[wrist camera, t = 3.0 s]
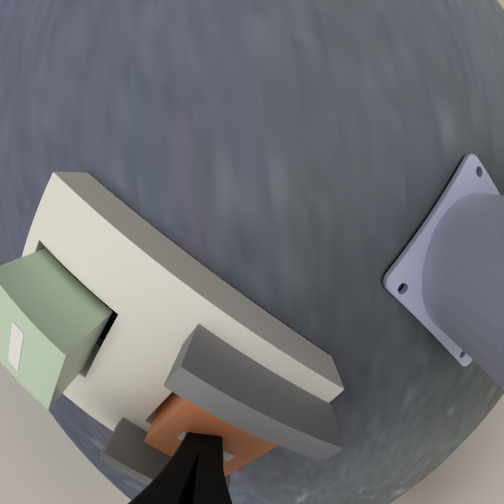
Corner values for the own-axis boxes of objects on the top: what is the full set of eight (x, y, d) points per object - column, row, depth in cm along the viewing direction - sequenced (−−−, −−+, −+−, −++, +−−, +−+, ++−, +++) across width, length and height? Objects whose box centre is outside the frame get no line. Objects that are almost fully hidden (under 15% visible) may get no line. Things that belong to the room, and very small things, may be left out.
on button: (113, 311, 9) (65, 356, 6) (84, 367, 10) (47, 410, 7) (45, 248, 9) (-12, 270, 6) (26, 312, 10) (-17, 341, 6)
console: (334, 358, 12) (364, 434, 7) (216, 452, 14) (206, 514, 9) (87, 172, 10) (7, 172, 6) (31, 319, 12) (-21, 356, 7)
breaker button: (274, 393, 12) (278, 446, 9) (226, 432, 13) (220, 479, 9) (204, 350, 11) (187, 401, 8) (163, 396, 12) (143, 442, 9)
